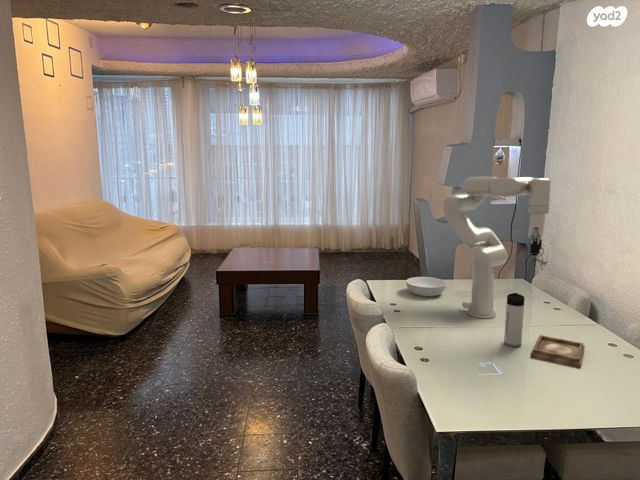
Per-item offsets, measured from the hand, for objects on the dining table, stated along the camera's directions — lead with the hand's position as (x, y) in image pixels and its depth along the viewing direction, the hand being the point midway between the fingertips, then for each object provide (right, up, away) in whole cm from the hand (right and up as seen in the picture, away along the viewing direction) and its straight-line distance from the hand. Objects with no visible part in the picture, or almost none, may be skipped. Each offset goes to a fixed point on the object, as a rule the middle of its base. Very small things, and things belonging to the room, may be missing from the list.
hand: (535, 251), depth 186 cm
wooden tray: (+2, -38, -14) cm, 40 cm away
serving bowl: (-31, -24, +59) cm, 71 cm away
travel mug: (-12, -37, -6) cm, 39 cm away
